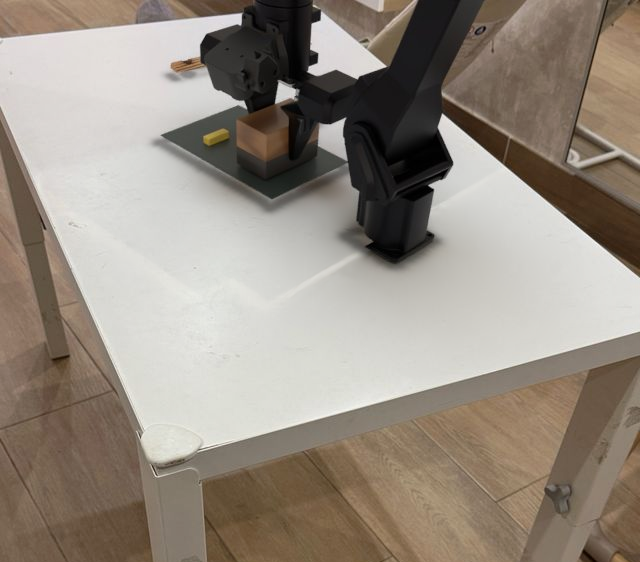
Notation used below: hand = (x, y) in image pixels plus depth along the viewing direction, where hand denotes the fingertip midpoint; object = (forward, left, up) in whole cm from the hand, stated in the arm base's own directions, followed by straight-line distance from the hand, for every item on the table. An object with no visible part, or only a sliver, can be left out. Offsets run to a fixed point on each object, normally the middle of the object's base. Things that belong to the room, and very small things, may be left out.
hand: (278, 150), depth 89 cm
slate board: (+4, 0, -2) cm, 4 cm away
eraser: (0, 0, -1) cm, 1 cm away
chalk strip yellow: (+8, +2, -1) cm, 8 cm away
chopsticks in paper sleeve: (+23, -16, -2) cm, 28 cm away
